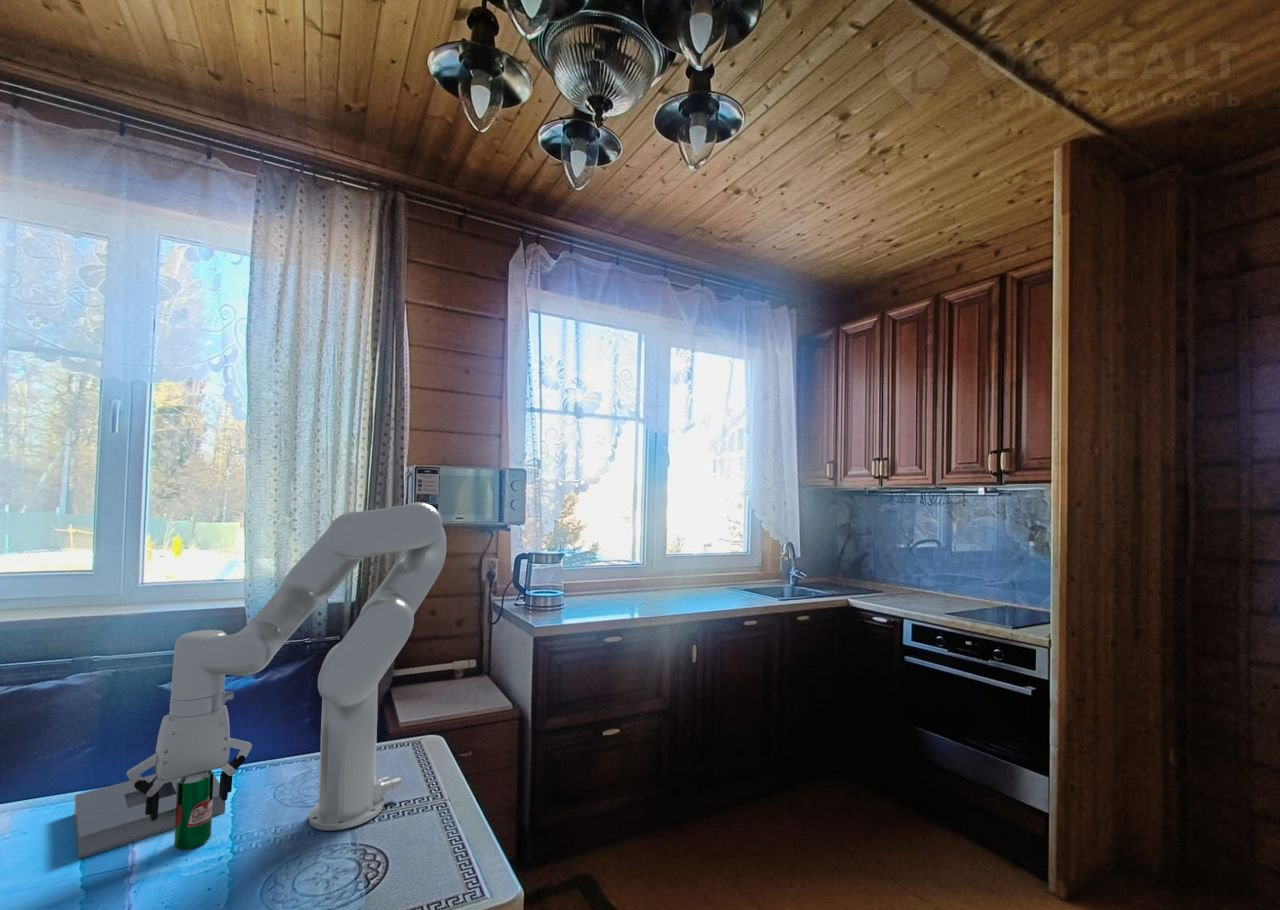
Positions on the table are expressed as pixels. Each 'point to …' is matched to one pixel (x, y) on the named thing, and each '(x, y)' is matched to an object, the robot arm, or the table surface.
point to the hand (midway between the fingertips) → (189, 807)
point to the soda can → (193, 810)
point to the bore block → (126, 815)
